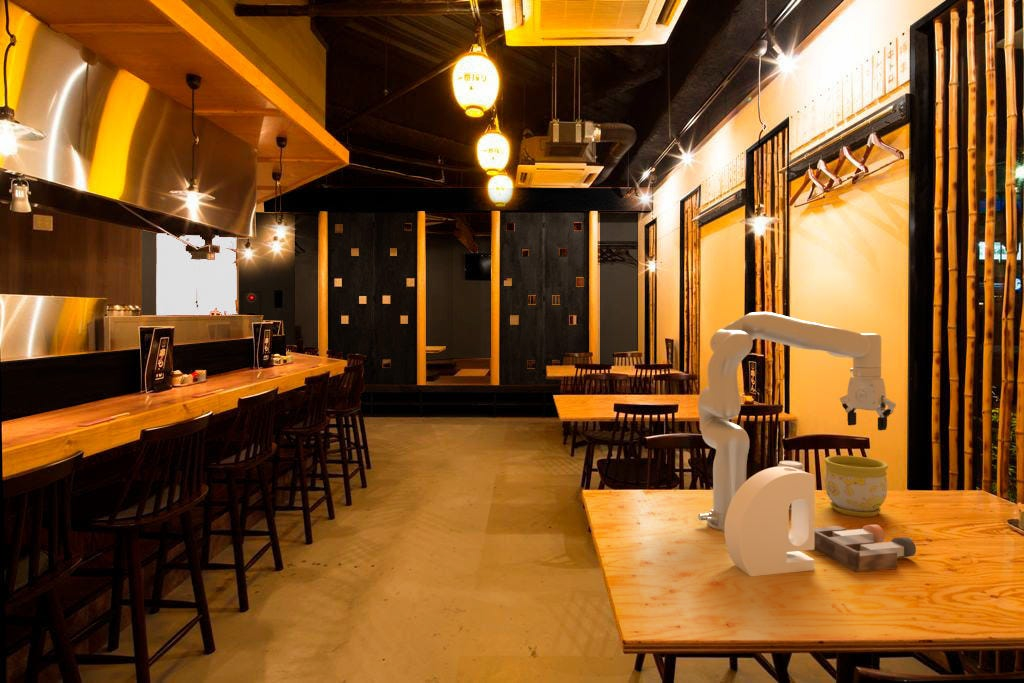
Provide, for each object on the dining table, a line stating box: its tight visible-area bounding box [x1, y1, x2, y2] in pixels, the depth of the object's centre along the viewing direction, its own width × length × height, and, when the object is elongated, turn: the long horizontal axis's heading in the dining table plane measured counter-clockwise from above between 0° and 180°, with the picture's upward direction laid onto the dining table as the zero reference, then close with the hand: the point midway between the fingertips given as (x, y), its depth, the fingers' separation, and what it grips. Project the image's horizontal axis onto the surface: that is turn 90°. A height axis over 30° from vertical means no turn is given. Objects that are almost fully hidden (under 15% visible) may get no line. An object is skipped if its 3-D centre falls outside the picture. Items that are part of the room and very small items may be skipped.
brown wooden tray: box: [814, 525, 898, 573], centre depth 157 cm, size 12×20×5 cm, turn 11°
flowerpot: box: [824, 455, 889, 518], centre depth 193 cm, size 18×18×16 cm
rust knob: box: [832, 524, 886, 543], centre depth 164 cm, size 13×5×5 cm, turn 101°
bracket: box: [723, 466, 816, 577], centre depth 149 cm, size 7×21×25 cm, turn 101°
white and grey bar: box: [860, 536, 917, 558], centre depth 154 cm, size 13×5×5 cm, turn 101°
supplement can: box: [776, 460, 805, 511], centre depth 198 cm, size 8×8×15 cm
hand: (866, 427), depth 183 cm, fingers open, 9 cm apart
